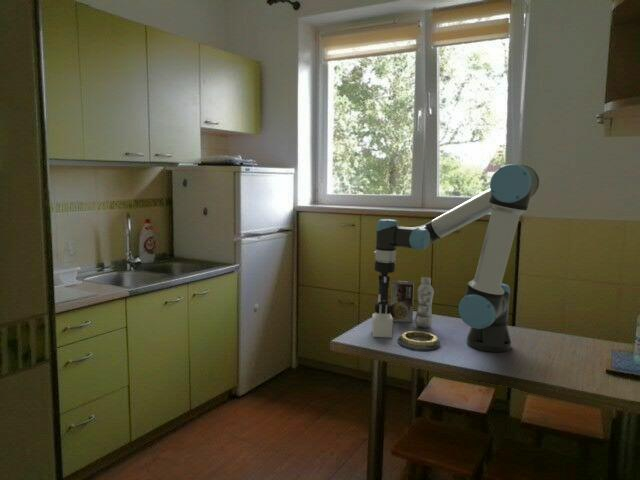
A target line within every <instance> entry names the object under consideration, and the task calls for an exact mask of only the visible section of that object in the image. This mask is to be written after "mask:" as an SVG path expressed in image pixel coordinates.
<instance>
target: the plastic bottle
mask: <svg viewBox="0 0 640 480" xmlns="http://www.w3.org/2000/svg"><path fill="white" fill-rule="evenodd" d="M431 281H432V278H431V277H428V276H424V277H423V276H422V277H421V278H420V283H421V284H420V285H419V286H418V287H417V290H416V294H417V310H416V314H415V315H416V316H415V318H414V323H415V325H416V327H418V328H423V329H425V328H427V329H428V328H430V327H431V326H432V325H433V324H432V323H433V318H432V305H433V300H434V294H435V290H434V288H433V286H432V284H431V283H432V282H431Z"/></svg>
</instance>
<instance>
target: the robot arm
mask: <svg viewBox="0 0 640 480" xmlns="http://www.w3.org/2000/svg"><path fill="white" fill-rule="evenodd" d="M489 181H490V182H489V188H488V189H487V190H485V191H484V190H483V192H480V193H479V194H476V195H475V196H473V197H472V198H470V199H467V200H466V201H464V202H462V203H461V204H459V205H457V206H455V207H453V208H451V209H449V210H447V211H446V212H445V213H442V214H441V215H439V216H437V217H435V218H434V219H431V220H429V221H428V222H426V223H423V224H422V225H418V226H412V227H411V226H401V225H399V223H398V220H397V219H392V218H381V219H379V220H378V221H377V223H376V225H377V226H376V230H375V232H376V233H375V234H376V237H375V238H376V239H375V251H373V254H374V255H375V258H374V259H375V261H374V271H375V272H378V273H380V274H378V289H377V290H378V297H377V303H378V304H380V308H379V322H386V319H387V304H389V299H388V298H389V287H390V278H391V277H390V275H389V274H391V273H394V272H395V268H396V257H397V248H406V249H413V250H416V251H417V250H422V251H423V250H427V249H428V247H429V246H430V245H432V244H435V243H436V242H437V241H438V240H440V239H441V238H444V237H445V236H448V235H449V234H451V233H453V232H455V231H458V230H459V229H461V228H463V227H465V226H467V225H469V224H471V223H473V222H475V221H477V220H479V219H480V218H482V217H484V216H486V215H488V214H490V217H489V220H488V225H487V229H486V231H485V236H484V238H483V239H484V241H483V243H482V248H481V251H480V255H479V259H478V264H477V268H476V271H475V275H474V278H473V279H472V280H470V281H468V282H467V287H466V291H465V294H464V297H463V298H462V299H461V300H460V302H459V305H458V314H459V318H461V320H462V321H463V322H464V324H465V325H467V326H468V327H470V329H469V331H468V333H467V336H466V344H467V345H468V346H470V347H472V348H474V349H476V350H480V351H483V352H489V353H490V352H491V353H504V352H508V351H510V350H511V348H512V339H511V335H510V331H509V327H508V324H509V323H508V321H509V311H510V309H509V308H510V299H511V298H510V296H511V288H510V285H508V284H506V283H503V279H504V276H505V273H506V269H507V265H508V261H509V258H510V253H511V249H512V247H513V243H514V239H515V236H516V232H517V228H518V224H519V220H520V216H521V215H522V214H524V213H527V211H528V207H529V203H530V200H531V198H532V197H533V196H534V195H535V194H536V193H537V192H538V189H539V187H540V178H539V174H538V173H537V172H536V170H535V169H533V168H532V167H530V166H529V165H524V164H519V163H509V164H505V165H503V166H501V167H499V168H498V169H496V170H495V171H494V173H493V174H492V175H491V178H490V180H489Z"/></svg>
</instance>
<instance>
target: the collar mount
mask: <svg viewBox="0 0 640 480" xmlns="http://www.w3.org/2000/svg"><path fill="white" fill-rule="evenodd" d="M397 343H398V344H399V345H400V346H401V347H403V348H406V349H410V350H413V351H422V352H423V351H426V352H427V351H434V350H438V349H440V347H441V340H439V339H438V336H437V335H435V334H432V333H431V332H426V331H419V330H411V331H405V332H403V333H402V334H401V335H400V336H399V337H398V338H397Z"/></svg>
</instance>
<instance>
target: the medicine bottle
mask: <svg viewBox="0 0 640 480" xmlns="http://www.w3.org/2000/svg"><path fill="white" fill-rule="evenodd" d="M379 308H380V304H378V302H377V303H375V304H374V313H372V315H371V317H372V318H371V319H372V320H371V333H372V336H373V337H374V338H393V331H394V330H393V329H394V321H393V318H392V316H391V303H388V304H387V319H386V322H379Z"/></svg>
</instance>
